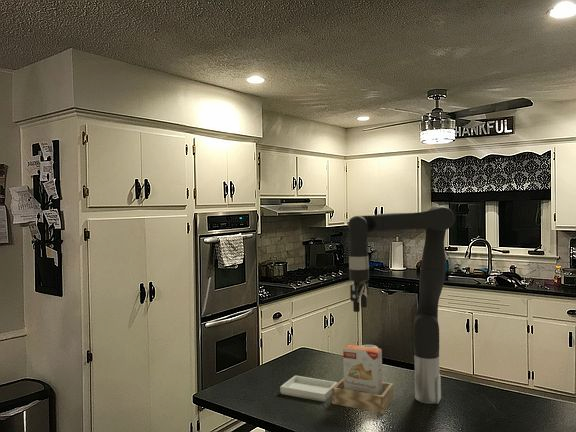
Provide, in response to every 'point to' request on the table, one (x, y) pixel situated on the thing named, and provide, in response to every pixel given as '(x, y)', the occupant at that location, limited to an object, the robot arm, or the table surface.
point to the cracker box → (362, 369)
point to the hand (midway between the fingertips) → (360, 309)
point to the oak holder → (363, 397)
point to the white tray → (308, 388)
